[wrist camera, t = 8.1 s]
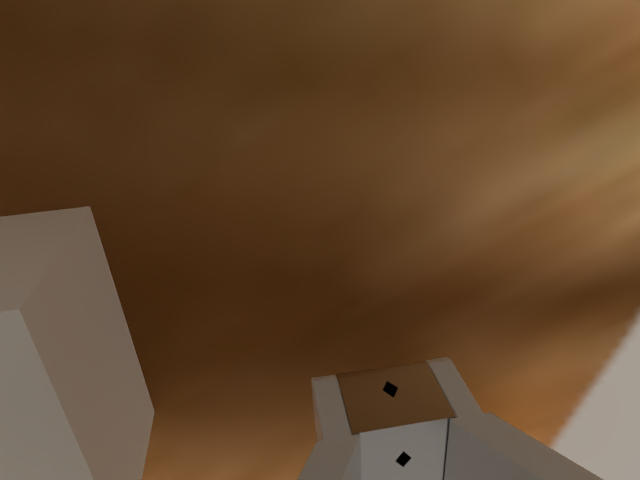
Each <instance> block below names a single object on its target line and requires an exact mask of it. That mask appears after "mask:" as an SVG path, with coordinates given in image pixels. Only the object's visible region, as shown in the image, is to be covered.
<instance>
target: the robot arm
mask: <svg viewBox="0 0 640 480" xmlns="http://www.w3.org/2000/svg"><path fill="white" fill-rule="evenodd" d="M311 384H312V396H313V409H314V419H315V428H316V436H317V442H316V443H315V445H314V447H313V449H312V451H311V453H310V455H309V457H308V459H307V462H306V464H305V466H304V468H303V470H302V472H301V474H300V476H299V478H298V480H603V479H601V478H600V477H598V476H596V475H595V474H593V473H591V472H590V471H588V470H586V469H584V468H583V467H581V466H579V465H577V464H576V463H574V462H573V461H571V460H569V459H568V458H566V457H564V456H563V455H561V454H559V453H558V452H556V451H554V450H553V449H551V448H549V447H548V446H546V445H544V444H543V443H541V442H539V441H538V440H536V439H534V438H533V437H531V436H529V435H528V434H526V433H524V432H523V431H521V430H519V429H517V428H516V427H514V426H512V425H511V424H509V423H507V422H506V421H504V420H502V419H501V418H499V417H497V416H496V415H494V414H492V413H491V412H489V413H483V412H482V410H481V408H480V407H479V405H478V403H477V402H476V400H475V398H474V397H473V395H472V393H471V392H470V390H469V389H468V387H467V385H466V384H465V382H464V380H463V379H462V377H461V375H460V374H459V372H458V370H457V369H456V367H455V365H454V364H453V362H452V360H451V359H449V358H448V357H443V358H437V359H431V360H425V361H420V362H414V363H408V364H402V365H396V366H389V367H383V368H378V369H370V370H362V371H355V372H347V373H339V374H336V375H328V376H320V377H312V380H311Z"/></svg>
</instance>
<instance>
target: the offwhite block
mask: <svg viewBox="0 0 640 480" xmlns="http://www.w3.org/2000/svg"><path fill="white" fill-rule="evenodd" d="M154 413H155V411H154V408H153V405H152V402H151V399H150V395H149V392H148V389H147V386H146V383H145V379H144V376H143V373H142V370H141V367H140V364H139V360H138V357H137V354H136V351H135V348H134V345H133V341H132V338H131V335H130V332H129V329H128V325H127V322H126V319H125V316H124V313H123V310H122V306H121V303H120V300H119V297H118V294H117V291H116V287H115V284H114V281H113V278H112V275H111V271H110V268H109V265H108V262H107V259H106V256H105V252H104V249H103V246H102V243H101V240H100V237H99V233H98V230H97V227H96V224H95V221H94V217H93V214H92V211H91V208H90V206H87V207H79V208H70V209H62V210H53V211H45V212H36V213H28V214H19V215H11V216H2V217H0V480H142V476H143V470H144V465H145V460H146V455H147V449H148V444H149V439H150V434H151V428H152V423H153V418H154Z"/></svg>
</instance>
